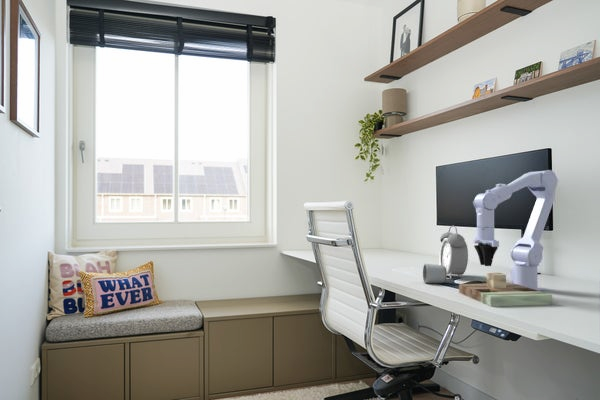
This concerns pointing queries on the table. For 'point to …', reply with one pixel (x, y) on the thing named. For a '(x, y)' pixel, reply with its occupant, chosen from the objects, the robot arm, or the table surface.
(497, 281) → the birch block
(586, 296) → the table surface
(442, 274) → the ceramic mug
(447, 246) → the alarm clock
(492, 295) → the trap deck
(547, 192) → the robot arm
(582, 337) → the table surface
